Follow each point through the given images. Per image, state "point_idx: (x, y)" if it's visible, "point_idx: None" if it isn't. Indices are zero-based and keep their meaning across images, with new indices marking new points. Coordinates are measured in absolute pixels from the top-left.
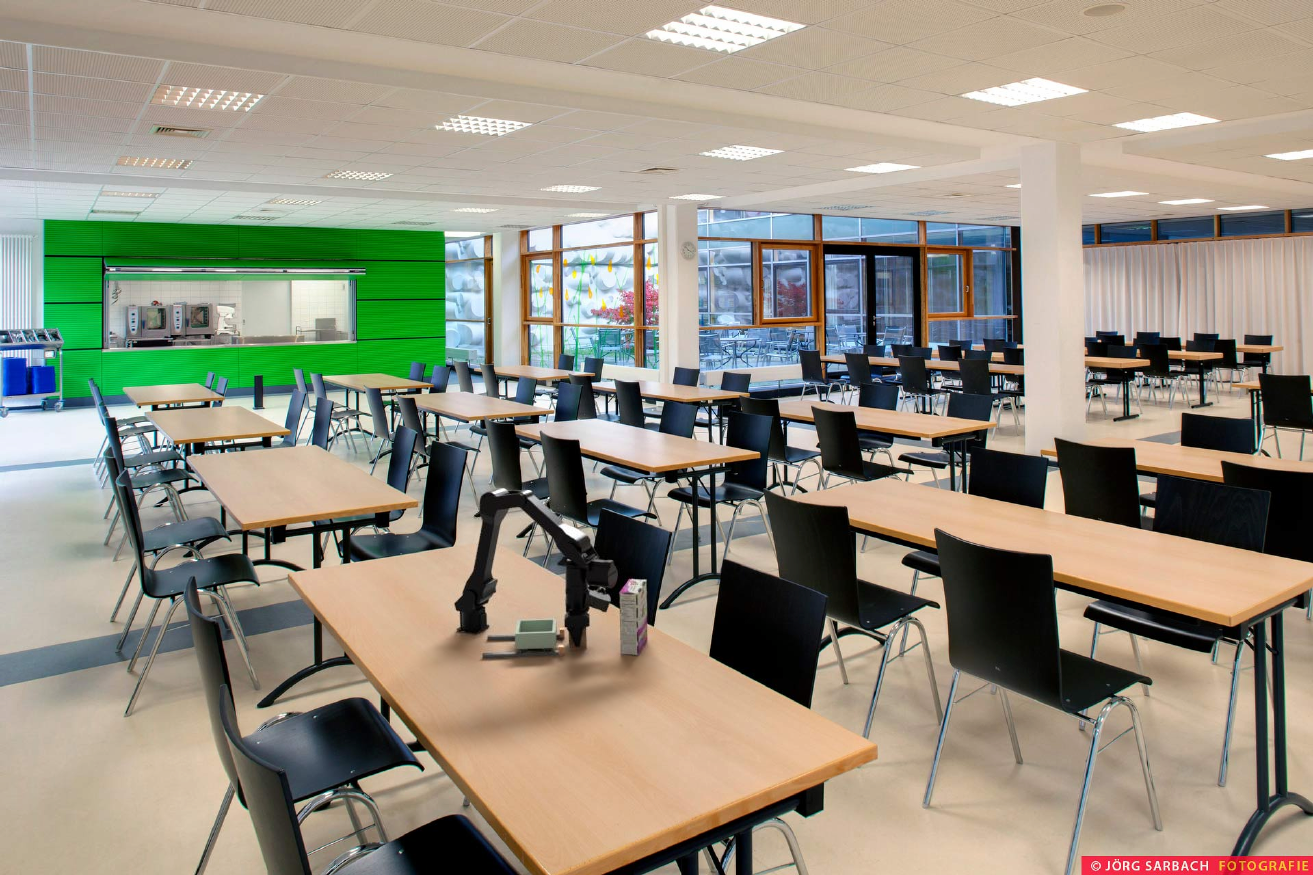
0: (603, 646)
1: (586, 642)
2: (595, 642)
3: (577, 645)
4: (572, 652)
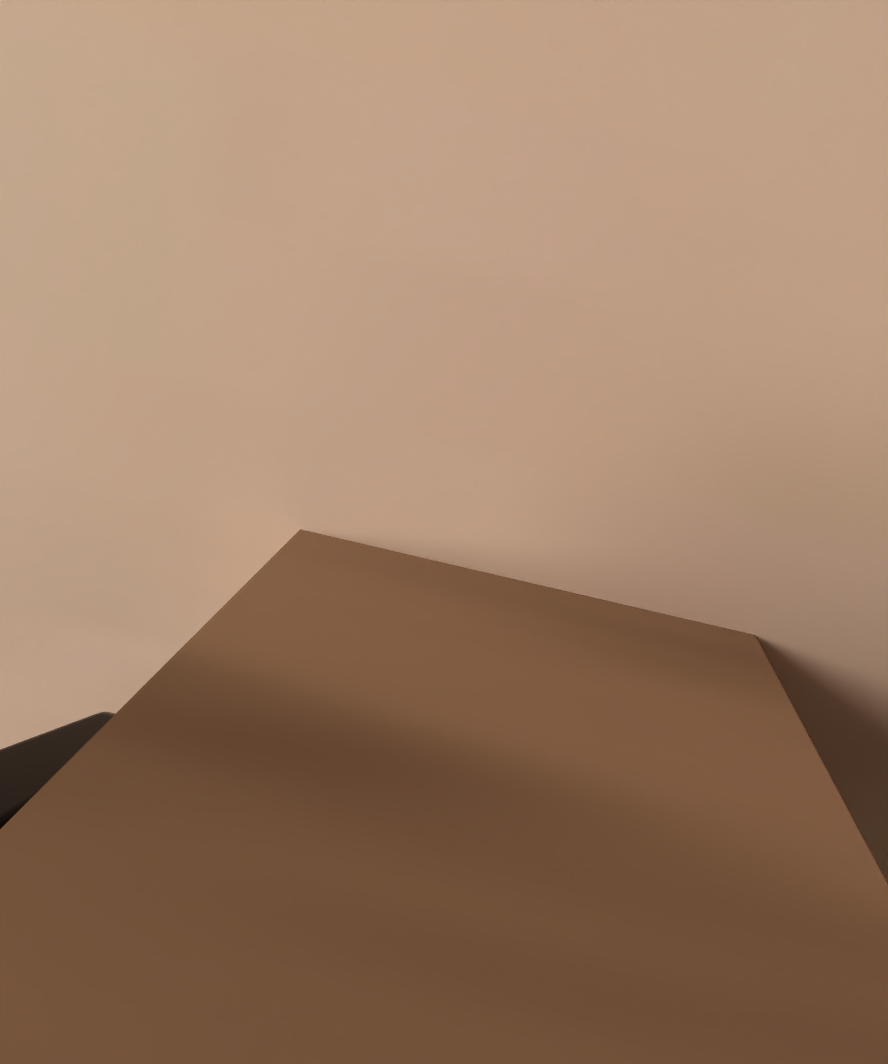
0: (801, 110)
1: (806, 734)
2: (391, 300)
3: None
4: None
